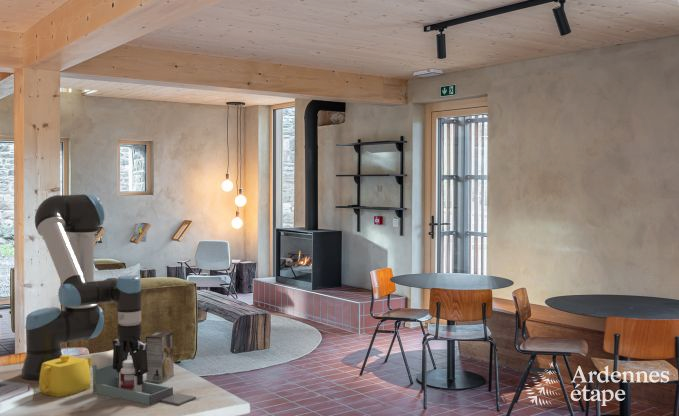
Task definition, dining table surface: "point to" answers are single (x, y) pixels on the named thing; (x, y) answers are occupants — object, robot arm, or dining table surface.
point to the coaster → (177, 399)
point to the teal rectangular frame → (108, 379)
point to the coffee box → (160, 356)
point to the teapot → (65, 376)
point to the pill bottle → (127, 375)
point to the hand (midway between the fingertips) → (130, 392)
